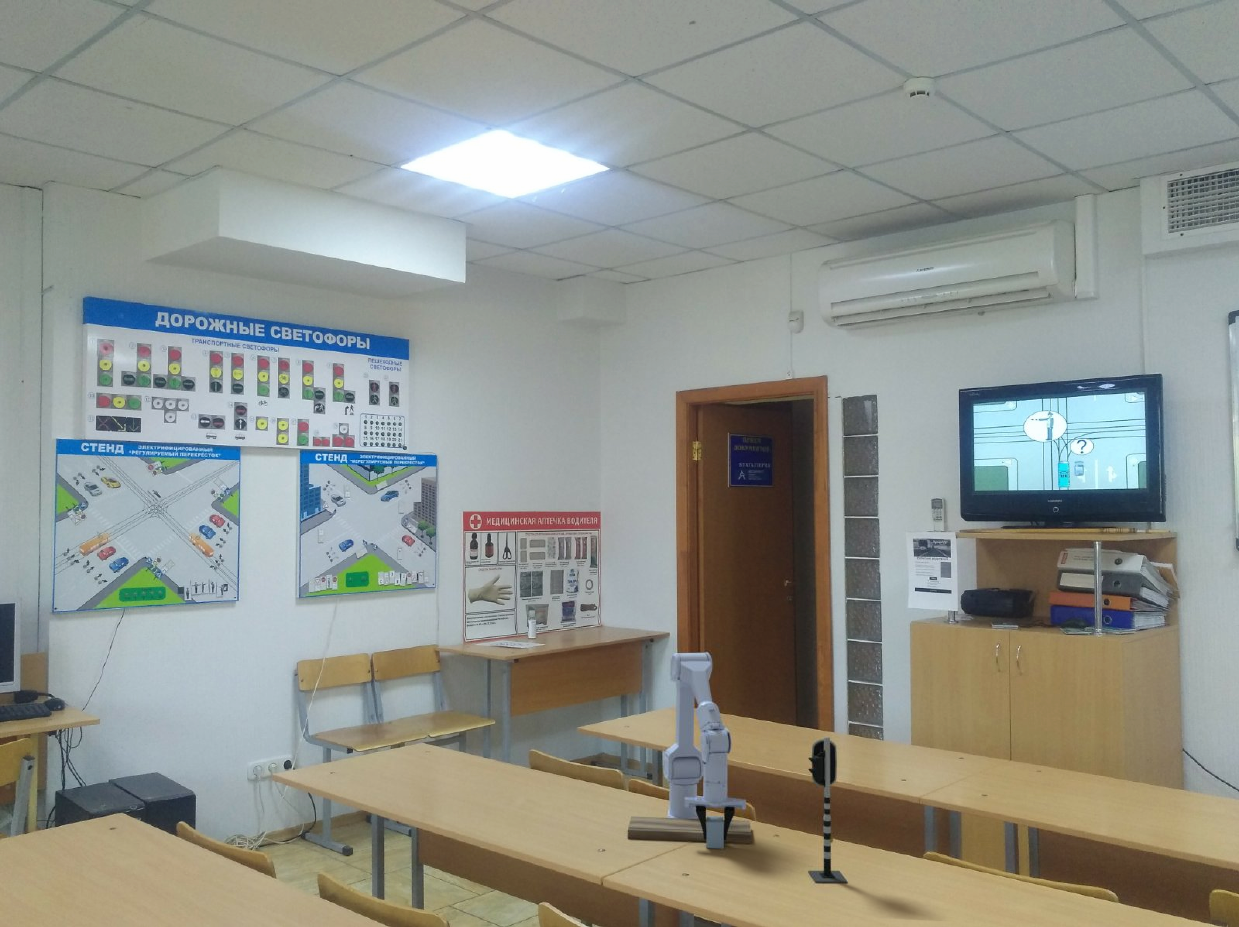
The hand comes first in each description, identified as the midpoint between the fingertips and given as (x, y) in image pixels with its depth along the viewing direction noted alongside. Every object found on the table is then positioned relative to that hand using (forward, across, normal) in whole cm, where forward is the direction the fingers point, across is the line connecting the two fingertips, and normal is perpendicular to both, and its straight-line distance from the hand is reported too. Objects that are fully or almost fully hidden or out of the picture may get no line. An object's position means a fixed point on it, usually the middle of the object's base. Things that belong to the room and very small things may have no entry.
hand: (715, 838), depth 239 cm
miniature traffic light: (+2, +24, -19) cm, 31 cm away
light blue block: (+1, 0, +1) cm, 2 cm away
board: (+2, -6, +9) cm, 11 cm away
